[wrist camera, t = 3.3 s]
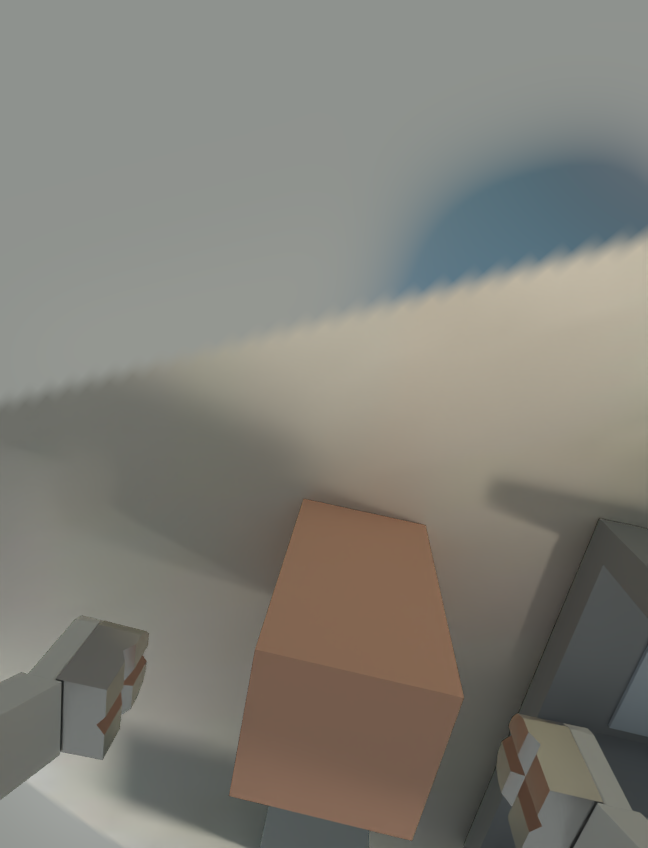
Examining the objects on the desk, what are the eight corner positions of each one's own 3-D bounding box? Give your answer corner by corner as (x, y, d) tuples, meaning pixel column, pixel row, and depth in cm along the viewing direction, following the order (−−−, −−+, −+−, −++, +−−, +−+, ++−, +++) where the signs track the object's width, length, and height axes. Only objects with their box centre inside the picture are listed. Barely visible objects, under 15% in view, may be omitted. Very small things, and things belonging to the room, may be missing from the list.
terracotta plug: (425, 525, 15) (463, 697, 9) (396, 625, 16) (412, 840, 10) (303, 498, 15) (254, 649, 9) (283, 600, 16) (229, 796, 10)
